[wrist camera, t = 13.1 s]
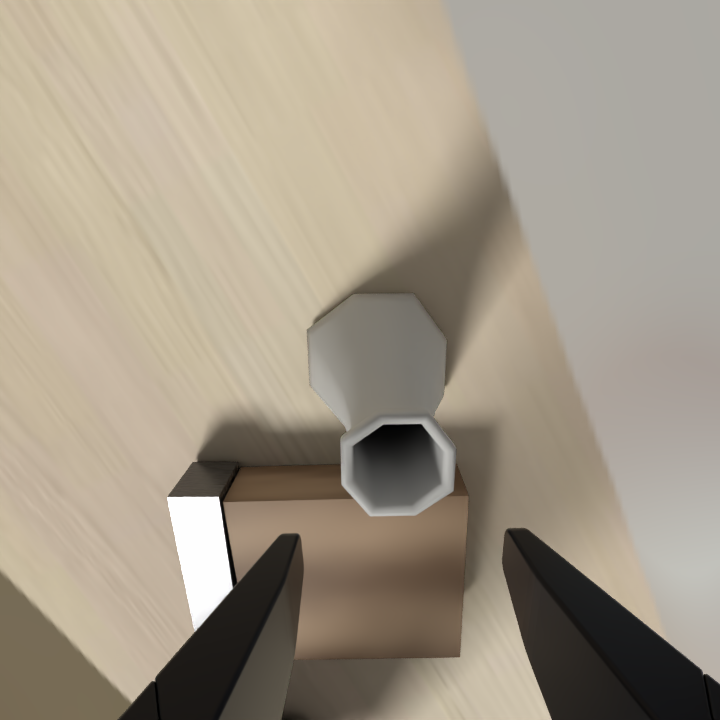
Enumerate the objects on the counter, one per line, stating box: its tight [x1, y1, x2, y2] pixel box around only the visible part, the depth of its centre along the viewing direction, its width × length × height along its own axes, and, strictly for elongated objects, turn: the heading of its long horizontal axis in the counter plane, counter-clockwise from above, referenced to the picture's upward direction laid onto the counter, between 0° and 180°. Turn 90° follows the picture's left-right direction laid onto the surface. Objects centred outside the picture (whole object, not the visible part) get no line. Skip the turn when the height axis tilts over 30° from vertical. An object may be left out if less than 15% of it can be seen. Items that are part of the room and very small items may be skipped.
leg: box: [167, 462, 239, 631], centre depth 22 cm, size 12×2×3 cm, turn 1°
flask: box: [307, 293, 456, 516], centre depth 15 cm, size 7×7×10 cm
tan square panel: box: [223, 464, 469, 660], centre depth 22 cm, size 11×12×3 cm
